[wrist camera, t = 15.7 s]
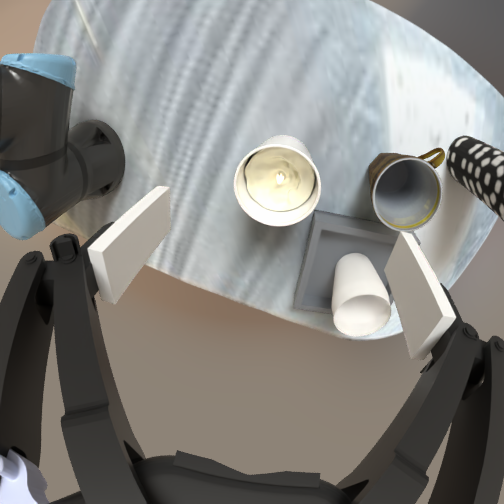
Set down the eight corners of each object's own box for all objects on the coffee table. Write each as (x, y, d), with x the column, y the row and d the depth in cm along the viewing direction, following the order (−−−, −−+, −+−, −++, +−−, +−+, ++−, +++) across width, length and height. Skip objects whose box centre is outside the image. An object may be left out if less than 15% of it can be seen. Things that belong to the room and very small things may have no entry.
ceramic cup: (387, 213, 42) (404, 245, 33) (344, 173, 40) (355, 198, 31) (438, 160, 35) (469, 180, 26) (398, 114, 33) (425, 123, 24)
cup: (377, 284, 48) (390, 332, 38) (331, 290, 51) (334, 340, 41) (377, 242, 44) (394, 289, 34) (325, 250, 46) (329, 298, 36)
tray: (294, 293, 54) (293, 308, 50) (314, 209, 44) (315, 220, 40) (379, 306, 52) (382, 320, 49) (413, 230, 42) (420, 242, 39)
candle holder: (256, 193, 44) (240, 228, 34) (246, 133, 39) (226, 149, 29) (318, 189, 42) (322, 225, 32) (313, 127, 37) (318, 141, 27)
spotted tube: (451, 129, 31) (532, 168, 15) (487, 143, 30) (565, 188, 14) (442, 177, 36) (510, 240, 20) (477, 187, 35) (544, 249, 18)
